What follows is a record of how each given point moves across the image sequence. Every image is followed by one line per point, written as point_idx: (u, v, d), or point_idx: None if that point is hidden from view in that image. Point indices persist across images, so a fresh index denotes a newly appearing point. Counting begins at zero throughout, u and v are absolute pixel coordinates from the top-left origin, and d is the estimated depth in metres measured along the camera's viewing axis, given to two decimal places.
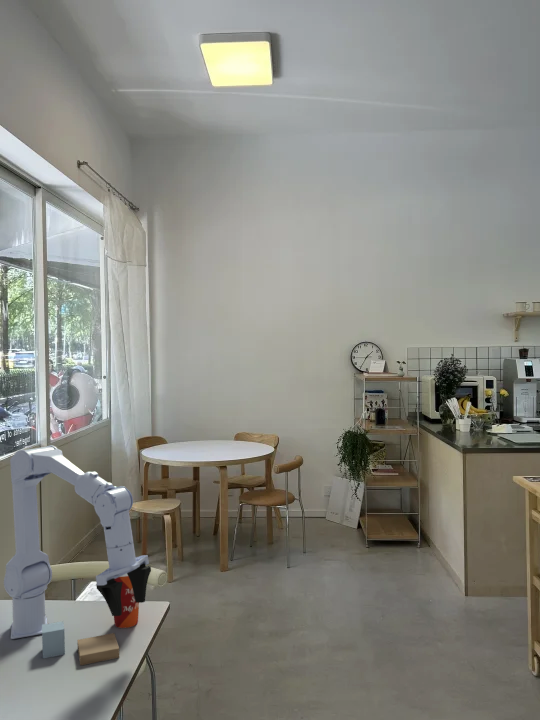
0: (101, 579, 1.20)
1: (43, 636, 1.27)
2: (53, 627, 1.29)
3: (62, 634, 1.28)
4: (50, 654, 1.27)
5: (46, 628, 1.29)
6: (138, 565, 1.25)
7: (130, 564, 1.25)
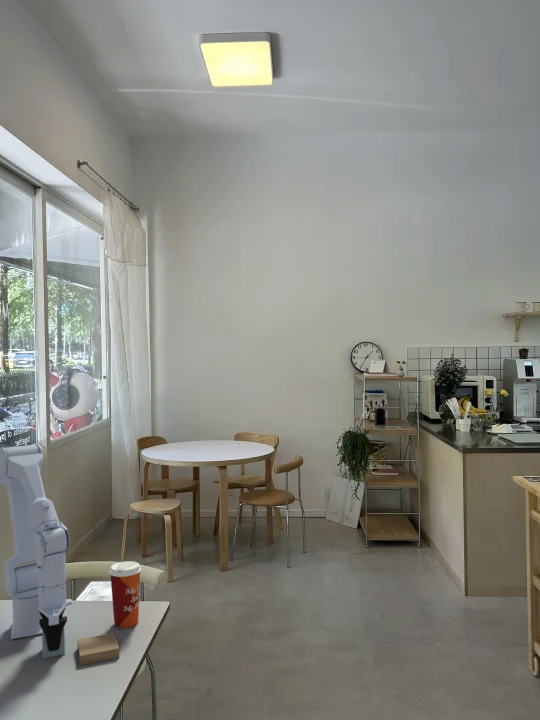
0: (57, 618, 1.23)
1: (43, 636, 1.27)
2: None
3: (62, 633, 1.28)
4: (50, 654, 1.27)
5: None
6: (71, 601, 1.32)
7: (65, 601, 1.30)
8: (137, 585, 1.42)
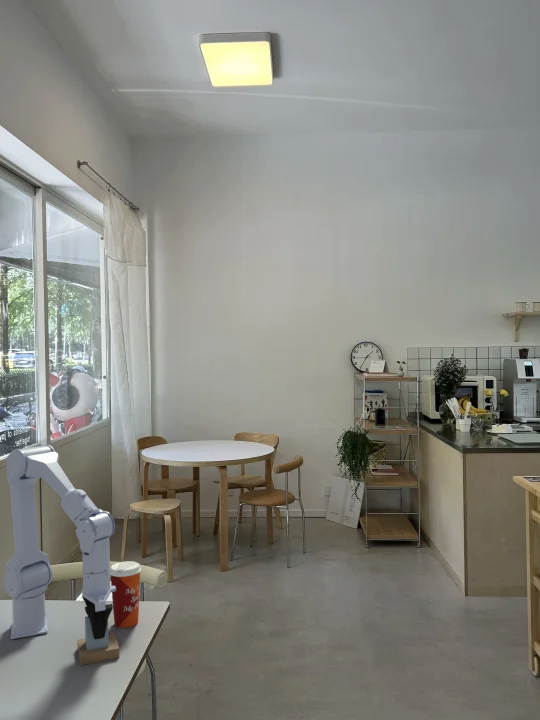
0: (103, 604, 1.22)
1: (87, 628, 1.25)
2: None
3: None
4: (94, 646, 1.26)
5: None
6: None
7: (110, 587, 1.29)
8: (137, 585, 1.42)
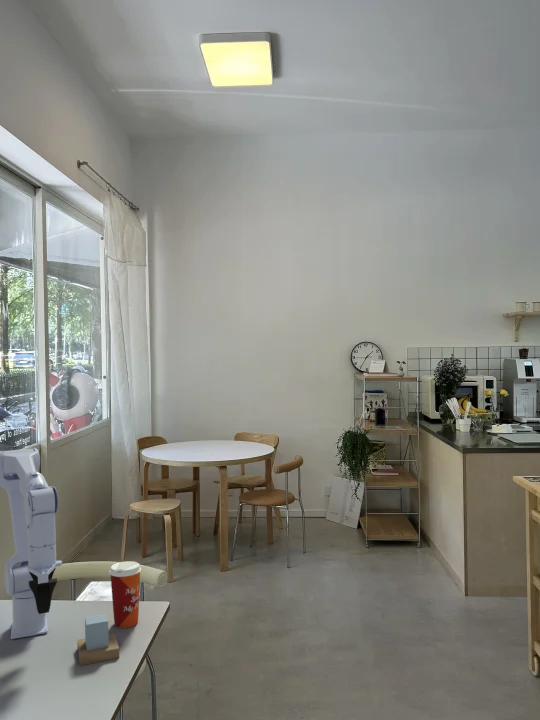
0: (46, 576, 1.22)
1: (87, 628, 1.25)
2: (97, 619, 1.28)
3: (106, 626, 1.27)
4: (94, 646, 1.26)
5: (90, 619, 1.28)
6: (61, 562, 1.31)
7: (55, 561, 1.29)
8: (137, 585, 1.42)
